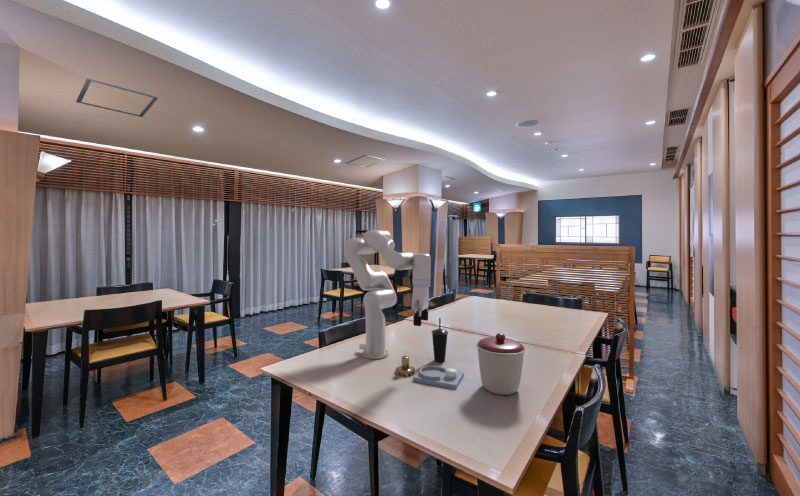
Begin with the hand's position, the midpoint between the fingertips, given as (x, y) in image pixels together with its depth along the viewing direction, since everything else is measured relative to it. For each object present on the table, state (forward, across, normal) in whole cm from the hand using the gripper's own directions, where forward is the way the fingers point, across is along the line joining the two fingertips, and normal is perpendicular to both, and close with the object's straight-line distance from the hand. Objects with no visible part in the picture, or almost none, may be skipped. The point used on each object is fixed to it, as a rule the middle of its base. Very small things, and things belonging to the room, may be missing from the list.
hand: (420, 322), depth 138 cm
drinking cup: (+21, -15, +5) cm, 26 cm away
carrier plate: (+21, +4, +9) cm, 23 cm away
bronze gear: (+21, +3, -6) cm, 22 cm away
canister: (+21, +4, +33) cm, 39 cm away
